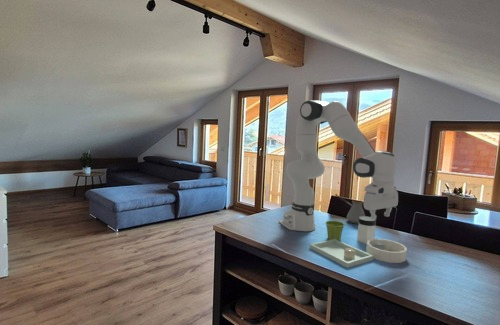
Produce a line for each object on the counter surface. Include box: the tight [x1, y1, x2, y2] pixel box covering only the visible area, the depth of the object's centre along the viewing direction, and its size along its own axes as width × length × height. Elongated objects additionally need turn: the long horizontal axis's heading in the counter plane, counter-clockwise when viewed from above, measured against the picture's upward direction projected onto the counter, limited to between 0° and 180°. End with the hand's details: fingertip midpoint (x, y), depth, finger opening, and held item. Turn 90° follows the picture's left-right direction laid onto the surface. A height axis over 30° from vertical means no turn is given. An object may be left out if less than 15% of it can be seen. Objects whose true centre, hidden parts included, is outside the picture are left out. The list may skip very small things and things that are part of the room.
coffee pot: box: [333, 194, 366, 225], centre depth 184 cm, size 21×12×15 cm, turn 45°
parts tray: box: [309, 239, 374, 269], centre depth 130 cm, size 22×16×2 cm
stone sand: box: [344, 248, 355, 260], centre depth 126 cm, size 4×4×4 cm
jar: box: [356, 215, 377, 246], centre depth 147 cm, size 9×8×12 cm
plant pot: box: [325, 220, 345, 241], centre depth 149 cm, size 9×9×9 cm
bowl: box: [365, 238, 408, 264], centre depth 130 cm, size 16×16×5 cm
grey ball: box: [374, 242, 385, 250], centre depth 133 cm, size 4×4×4 cm
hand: (380, 217), depth 131 cm, fingers open, 8 cm apart
